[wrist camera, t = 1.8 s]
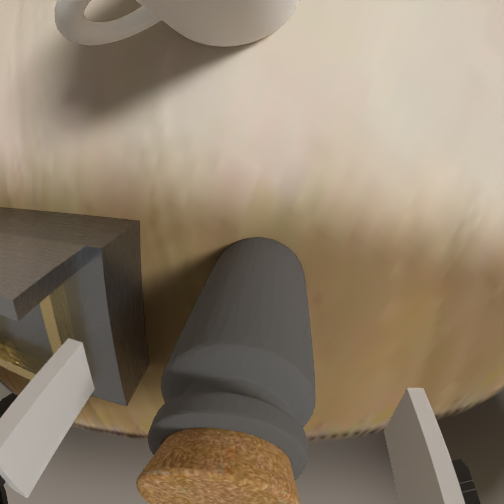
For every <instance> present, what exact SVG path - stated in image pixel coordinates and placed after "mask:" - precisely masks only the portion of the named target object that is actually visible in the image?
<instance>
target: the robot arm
mask: <svg viewBox="0 0 504 504" xmlns="http://www.w3.org/2000/svg"><path fill="white" fill-rule="evenodd" d="M94 389H95V388H94V385H93V381H92V377H91V374H90V370H89V366H88V362H87V358H86V354H85V350H84V346H83V342H79V341H76V340H73V339H69V338H68V339H67V340H66V341H65V343H64V344H63V345H62V346H61V347H60V348H59V349H58V350H57V351H56V353H55V354H54V355H53V356H52V357H51V358H50V359H49V360H48V362H47V363H46V364H45V365H44V366H43V367H42V368H41V370H40V371H39V372H38V373H37V374H36V375H35V377H34V378H33V379H32V380H31V381H30V382H29V384H28V385H27V386H26V387H25V388H24V390H23V391H22V392H21V393H20V394H19V396H17V395H15V394H13V393H12V394H10V395H8V396H7V397H5V398H3V399H2V400H1V401H0V504H8V501H7V496H6V491H5V488H4V486H3V485H4V483H5V482H6V483H7V484H8V485H9V486H10V487H11V488H12V489H13V490H15V491H17V492H18V493H20V494H21V495H23V496H25V497H26V498H28V497H29V495H30V493H31V491H32V489H33V488H34V486H35V484H36V482H37V481H38V479H39V478H40V475H41V474H42V472H43V471H44V469H45V467H46V466H47V464H48V462H49V461H50V459H51V457H52V456H53V454H54V452H55V451H56V449H57V448H58V446H59V444H60V443H61V441H62V439H63V438H64V436H65V435H66V433H67V431H68V430H69V428H70V427H71V425H72V423H73V422H74V420H75V419H76V417H77V416H78V414H79V412H80V411H81V409H82V408H83V406H84V405H85V403H86V402H87V400H88V399H89V397H90V396H91V394H92V392H93V391H94ZM384 434H385V438H386V443H387V447H388V451H389V455H390V460H391V465H392V470H393V474H394V479H395V484H396V489H397V495H398V500H399V504H480V501H479V498H478V494H477V491H475V485H474V483H473V482H472V477H471V475H470V471H469V469H468V467H467V466H466V465H465V464H464V463H463V461H462V460H461V459H459V460H454V461H451V458H450V456H449V453H448V450H447V447H446V445H445V442H444V439H443V437H442V434H441V432H440V429H439V426H438V423H437V421H436V418H435V416H434V413H433V411H432V408H431V406H430V403H429V401H428V399H427V396H426V394H425V391H424V389H423V388H407V389H406V391H405V393H404V395H403V397H402V399H401V401H400V403H399V405H398V406H397V408H396V410H395V412H394V414H393V416H392V417H391V419H390V421H389V423H388V424H387V426H386V428H385V430H384Z"/></svg>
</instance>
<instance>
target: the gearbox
mask: <svg viewBox="0 0 504 504" xmlns="http://www.w3.org/2000/svg"><path fill="white" fill-rule="evenodd" d="M68 338H69V339H73V340H76V341H79V342H83V346H84V350H85V354H86V358H87V362H88V366H89V370H90V374H91V377H92V381H93V385H94V388H95V389H94V391H93V392H92V394H91V395H92V396H95V397H98V398H101V399H104V400H107V401H111V402H114V403H117V404H121V405H124V406H127V405H128V403H129V401H130V399H131V397H132V395H133V393H134V391H135V390H136V388H137V386H138V384H139V382H140V380H141V378H142V376H143V374H144V372H145V371H146V369H147V367H148V365H149V358H148V349H147V340H146V330H145V319H144V307H143V294H142V277H141V256H140V221H137V220H127V219H118V218H108V217H99V216H89V215H79V214H69V213H58V212H48V211H37V210H26V209H15V208H3V207H0V366H2V367H4V368H6V369H8V370H10V371H12V372H14V373H16V374H19V375H21V376H23V377H25V378H27V379H29V380H32V379H33V378H34V377H35V375H36V374H37V373H38V372H39V371H40V370H41V368H42V367H43V366H44V365H45V364H46V363H47V362H48V360H49V359H50V358H51V357H52V356H53V355H54V354H55V353H56V351H57V350H58V349H59V348H60V347H61V346H62V345H63V344H64V343H65V341H66V340H67V339H68Z"/></svg>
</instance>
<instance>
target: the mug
mask: <svg viewBox="0 0 504 504" xmlns="http://www.w3.org/2000/svg"><path fill="white" fill-rule="evenodd" d="M90 1H91V0H57V3H56V7H55V23H56V26H57V29H58V30H59V31H60V33H61V34H62V35H63V36H64V37H65V38H67V39H68V40H70V41H72V42H75V43H78V44H83V45H103V44H108V43H113V42H116V41H120V40H123V39H125V38H128V37H131V36H133V35H135V34H137V33H140V32H142V31H144V30H145V29H147V28H149V27H151V26H153V25H155V24H157V23H158V22H160V21H164V22H165V23H166V24H167V25H169V26H170V27H171V28H172V29H174V30H175V31H177V32H178V33H180V34H181V35H183V36H184V37H186V38H188V39H190V40H193V41H195V42H198V43H202V44H205V45H211V46H221V47H227V46H238V45H244V44H248V43H252V42H254V41H257V40H260V39H262V38H264V37H266V36H268V35H270V34H272V33H273V32H275V31H276V30H278V29H279V28H280V27H281V26H283V25H284V24H285V23H286V22H287V20H288V19H289V18H290V17H291V16H292V14H293V13H294V11H295V10H296V8H297V6H298V4H299V1H300V0H136V1H137V2H138V3H140V4H141V5H142V6H141V7H140V8H138V9H137V10H135V11H133V12H131V13H130V14H128V15H126V16H123V17H121V18H119V19H116V20H112V21H108V22H92V21H90V20H88V19H86V18H85V16H84V10H85V8H86V6H87V5H88V3H89V2H90Z"/></svg>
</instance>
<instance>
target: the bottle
mask: <svg viewBox="0 0 504 504" xmlns="http://www.w3.org/2000/svg"><path fill="white" fill-rule="evenodd" d="M161 391H162V395H163V398H164V401H165V404H164V405H163V406H162V407H161V408H160V409H159V411H158V412H157V414H156V416H155V418H154V420H153V423H152V425H151V428H150V430H149V434H148V443H149V447H150V450H151V451H152V453H153V455H154V456H153V457H152V459H151V460H150V461H149V463H148V464H147V466H146V467H145V469H144V470H143V471H142V473H141V474H140V475H139V477H138V479H137V482H136V484H137V489H138V491H139V493H140V495H141V496H142V497H143V498H144V499H145V500H146V501H147V502H148V503H149V504H300V500H299V496H298V492H297V488H296V483H295V480H296V479H297V478H298V477H299V476H300V475H301V474H302V473H303V471H304V470H305V467H306V464H307V456H308V447H307V439H306V435H305V432H304V430H303V427H304V426H305V425H306V424H307V422H308V421H309V420H310V418H311V416H312V414H313V411H314V408H315V372H314V360H313V349H312V339H311V328H310V318H309V309H308V300H307V291H306V282H305V276H304V272H303V268H302V265H301V263H300V261H299V260H298V258H297V256H296V255H295V254H294V253H293V252H292V251H291V250H290V249H289V248H287V247H286V246H285V245H283V244H281V243H279V242H277V241H275V240H272V239H268V238H260V237H256V238H247V239H243V240H240V241H238V242H236V243H234V244H232V245H231V246H229V247H228V248H227V249H226V250H225V251H224V252H223V253H222V254H221V256H220V257H219V259H218V260H217V262H216V264H215V265H214V267H213V269H212V271H211V273H210V275H209V277H208V279H207V281H206V283H205V285H204V287H203V289H202V291H201V293H200V295H199V297H198V299H197V301H196V303H195V305H194V307H193V310H192V312H191V314H190V316H189V318H188V320H187V322H186V324H185V326H184V328H183V330H182V332H181V334H180V336H179V338H178V341H177V343H176V345H175V347H174V349H173V352H172V354H171V356H170V358H169V361H168V363H167V365H166V368H165V370H164V372H163V376H162V383H161Z"/></svg>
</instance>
